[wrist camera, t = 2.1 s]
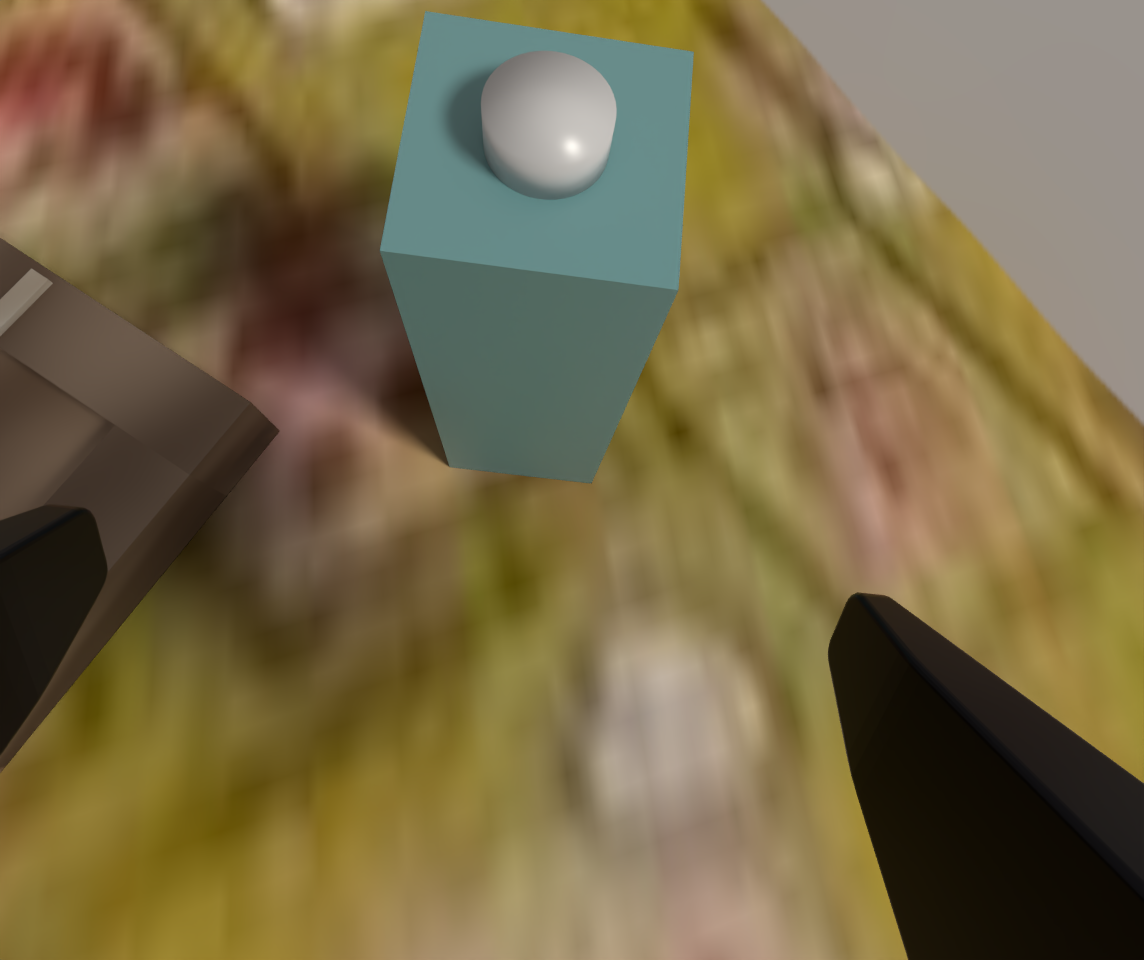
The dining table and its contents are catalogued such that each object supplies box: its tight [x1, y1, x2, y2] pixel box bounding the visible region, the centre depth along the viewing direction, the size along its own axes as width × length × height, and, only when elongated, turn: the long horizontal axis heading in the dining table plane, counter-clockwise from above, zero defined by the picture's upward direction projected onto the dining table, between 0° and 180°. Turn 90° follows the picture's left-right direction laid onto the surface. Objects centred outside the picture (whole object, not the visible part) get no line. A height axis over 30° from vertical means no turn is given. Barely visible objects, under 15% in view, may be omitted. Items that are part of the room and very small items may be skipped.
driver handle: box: [380, 11, 694, 483], centre depth 16 cm, size 4×4×13 cm
